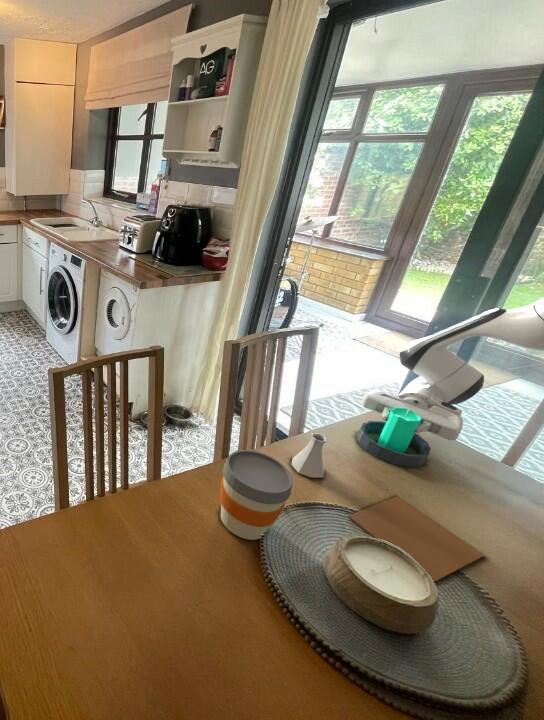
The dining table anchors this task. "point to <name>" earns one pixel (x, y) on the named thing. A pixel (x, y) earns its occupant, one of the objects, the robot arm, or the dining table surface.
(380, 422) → the ring
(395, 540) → the mat
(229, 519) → the reusable coffee cup
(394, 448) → the candle
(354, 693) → the dining table surface
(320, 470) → the flask
